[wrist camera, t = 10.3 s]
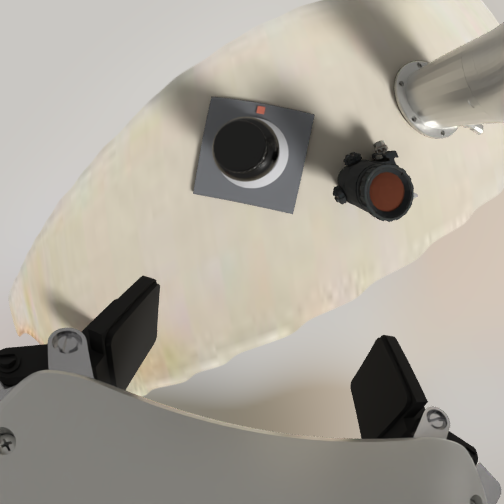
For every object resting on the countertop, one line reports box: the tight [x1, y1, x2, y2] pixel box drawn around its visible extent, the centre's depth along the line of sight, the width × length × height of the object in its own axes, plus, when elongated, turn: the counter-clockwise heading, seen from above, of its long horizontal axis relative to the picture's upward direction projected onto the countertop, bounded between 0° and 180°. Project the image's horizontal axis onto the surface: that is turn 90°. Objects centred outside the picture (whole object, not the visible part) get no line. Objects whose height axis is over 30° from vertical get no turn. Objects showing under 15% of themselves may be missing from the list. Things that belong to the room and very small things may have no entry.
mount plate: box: [193, 97, 314, 214], centre depth 34 cm, size 14×14×2 cm
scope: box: [333, 140, 418, 222], centre depth 28 cm, size 8×14×10 cm
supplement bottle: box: [212, 117, 280, 182], centre depth 28 cm, size 7×7×12 cm
